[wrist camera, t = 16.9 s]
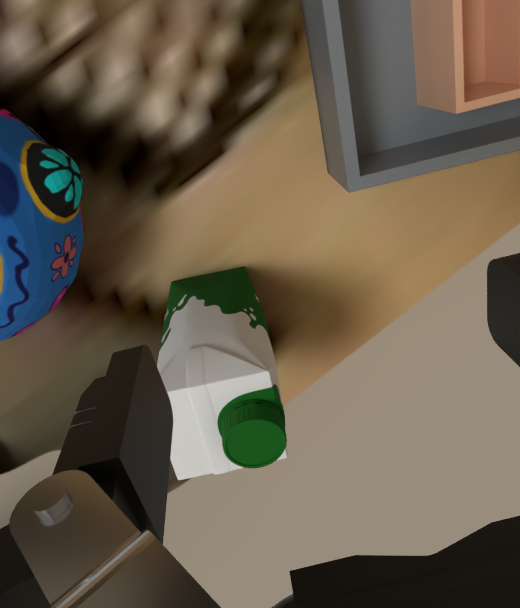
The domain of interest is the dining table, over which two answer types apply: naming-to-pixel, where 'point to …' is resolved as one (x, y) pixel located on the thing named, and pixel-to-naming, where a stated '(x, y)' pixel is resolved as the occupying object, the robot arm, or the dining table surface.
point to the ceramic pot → (35, 225)
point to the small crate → (466, 53)
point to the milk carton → (220, 377)
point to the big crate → (388, 99)
